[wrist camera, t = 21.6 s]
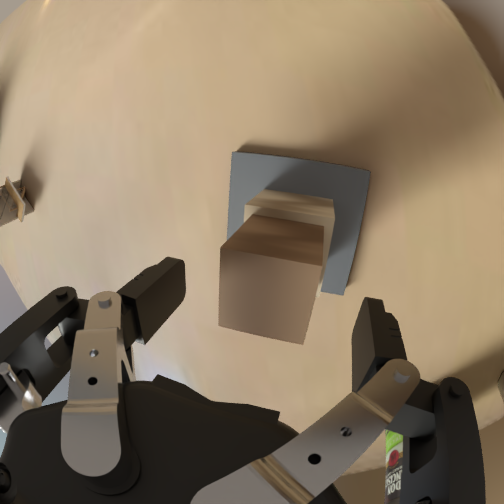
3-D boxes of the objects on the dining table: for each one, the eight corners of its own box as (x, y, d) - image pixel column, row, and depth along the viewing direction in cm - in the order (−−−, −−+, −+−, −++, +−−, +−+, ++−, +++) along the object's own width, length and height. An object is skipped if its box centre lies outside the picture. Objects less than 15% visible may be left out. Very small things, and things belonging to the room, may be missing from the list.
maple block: (332, 199, 19) (334, 218, 14) (321, 262, 21) (319, 297, 16) (264, 189, 20) (244, 204, 15) (258, 251, 22) (239, 282, 17)
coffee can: (370, 425, 29) (365, 516, 16) (411, 380, 24) (423, 491, 12) (426, 429, 27) (431, 509, 15) (468, 387, 23) (490, 477, 10)
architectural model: (24, 170, 28) (-15, 183, 21) (43, 197, 28) (1, 214, 22) (21, 188, 29) (-16, 202, 23) (40, 215, 30) (1, 233, 23)
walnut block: (323, 226, 14) (322, 266, 10) (311, 289, 16) (303, 344, 12) (252, 214, 15) (220, 247, 11) (247, 276, 17) (218, 325, 12)
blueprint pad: (368, 170, 18) (370, 171, 17) (342, 289, 22) (343, 295, 21) (236, 151, 20) (231, 152, 19) (229, 267, 24) (225, 272, 23)
